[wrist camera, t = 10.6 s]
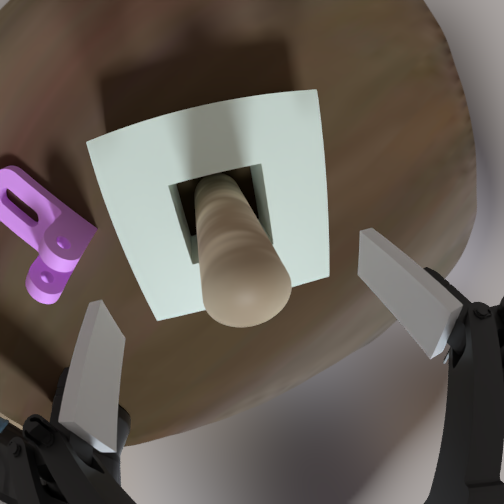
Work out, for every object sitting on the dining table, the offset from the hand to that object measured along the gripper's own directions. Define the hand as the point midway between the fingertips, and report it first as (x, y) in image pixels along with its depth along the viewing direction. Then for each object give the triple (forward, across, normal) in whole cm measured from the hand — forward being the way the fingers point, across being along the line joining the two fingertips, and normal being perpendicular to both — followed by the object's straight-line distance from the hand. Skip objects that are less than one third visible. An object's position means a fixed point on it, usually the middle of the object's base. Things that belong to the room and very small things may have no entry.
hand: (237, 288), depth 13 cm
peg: (+13, +1, 0) cm, 13 cm away
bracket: (+14, -17, +4) cm, 22 cm away
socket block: (+13, +1, 0) cm, 13 cm away
